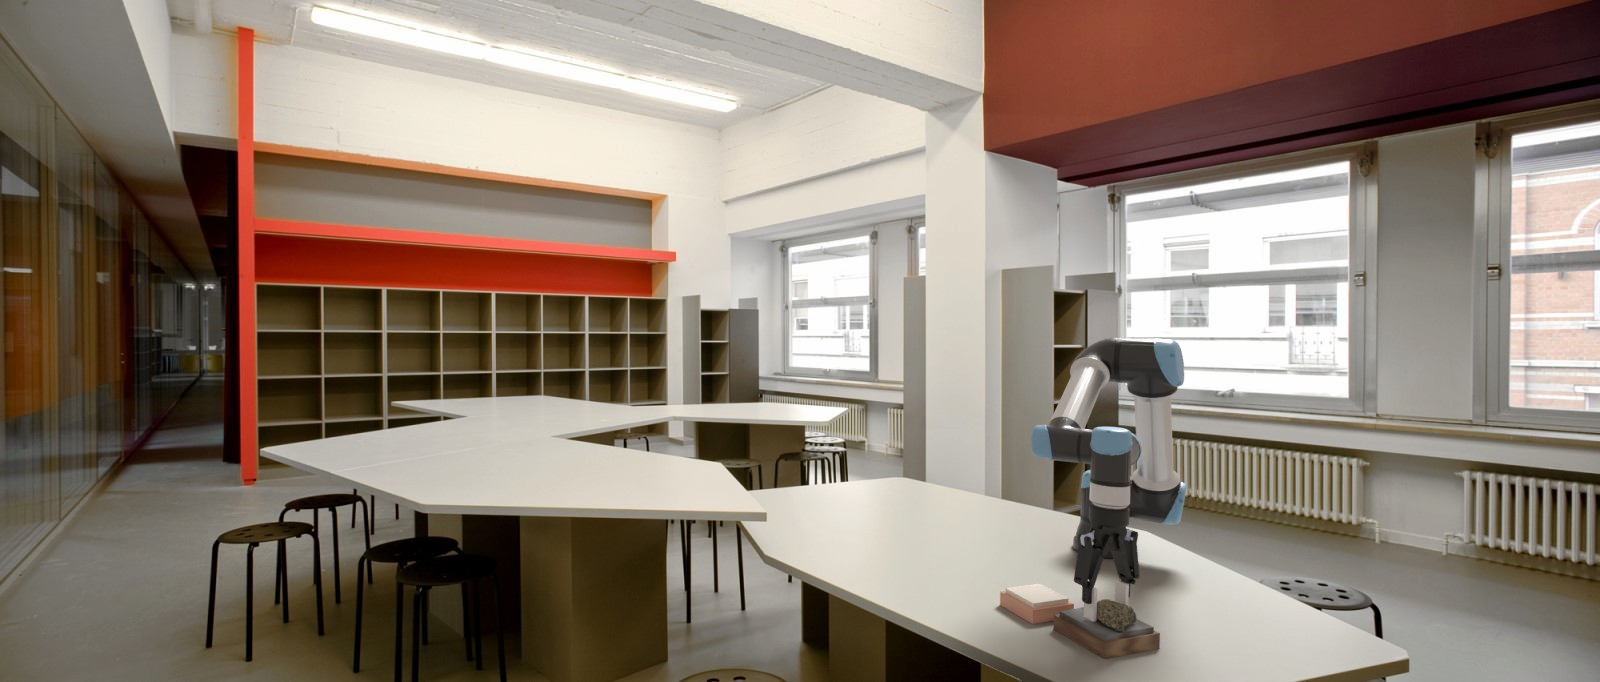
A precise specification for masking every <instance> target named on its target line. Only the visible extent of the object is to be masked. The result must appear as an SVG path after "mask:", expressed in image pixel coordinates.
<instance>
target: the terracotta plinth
mask: <svg viewBox="0 0 1600 682" xmlns="http://www.w3.org/2000/svg"><path fill="white" fill-rule="evenodd" d="M999 597H1000V598H999V605H1000V606H1002V607H1003V608H1004V609H1006V610H1008V611H1009V612H1011V613H1013V614H1015V615H1016V616H1019V618H1022V619H1023V620H1025V621H1027V622H1028V623H1030V624H1031V625H1035V624H1041V623H1042V624H1043V623H1046V622H1048V623H1049V622H1054V615H1056V614H1060V611H1064V610H1070V609H1075V603H1073V602H1072V601H1070V599H1069V597H1066V596H1065V595H1063V594H1060V593H1059V592H1057V591H1055V590H1053V589H1051V588H1049V587H1047V586H1045V585H1043V584H1041V583H1033V584H1027V585H1026V584H1025V585H1019V586H1012V587H1005V590H1002V591H1000V594H999Z"/></svg>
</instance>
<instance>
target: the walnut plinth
mask: <svg viewBox="0 0 1600 682" xmlns="http://www.w3.org/2000/svg"><path fill="white" fill-rule="evenodd" d="M1083 615H1084V606H1083V607H1079V608H1078V607H1077V608H1074V609H1070V610H1064V611H1060V614H1056V615H1054V621H1053V630H1054V631H1056V632H1058V633H1059V634H1061V635H1063V636H1065V637H1066V638H1068V639H1070V640H1071V641H1073V642H1075V643H1077V644H1078V645H1080V646H1082V647H1083V648H1085V649H1087V650H1088V651H1091V652H1092V653H1094V654H1096V656H1097V655H1098V656H1099V657H1101V659H1102V658H1103V659H1104V660H1106V659H1109V658H1110V659H1111V658H1116V657H1121V656H1127V655H1132V654H1136V653H1142V652H1147V651H1153V650H1157V649H1160V646H1161V645H1160V643H1161V632H1157V631H1156V630H1155V629H1154V626H1152V625H1150V624H1149V623H1146V622H1144V621H1142V620H1140V619H1138V618H1136V622H1134V623H1133V624H1131V625H1129V626H1126V627H1124V632H1120V631H1115V629H1113V628H1110V627H1109V626H1107V625H1105V624H1103V623H1102V622H1101V621H1100V620H1097V619H1096V621H1094V622H1093V621H1091V620H1089V619H1087V618H1086V617H1084V616H1083Z"/></svg>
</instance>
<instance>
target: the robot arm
mask: <svg viewBox="0 0 1600 682" xmlns="http://www.w3.org/2000/svg"><path fill="white" fill-rule="evenodd" d="M1069 374H1070V378H1069V380H1068V381H1067V382H1068V383H1067V384H1066V386H1065V389H1064V391H1063V393H1062V396H1061V397H1060V399H1059V401H1058V403H1057V406H1056V408H1055V410H1054V413H1052V417H1051V419H1050V420H1049V423H1048V424H1038V425H1035V426H1034V427H1033V429H1032V431H1031V435H1030V449H1031V453H1032V454H1033V456H1034V457H1037V458H1039V459H1040V458H1041V459H1048V460H1049V461H1059V462H1069V463H1078V464H1079V463H1080V464H1084V465H1085V464H1086V465H1090V469H1088V470H1086V471H1084V472H1083V474H1082V477H1081V485H1080V489H1081V490H1080V520H1079V524H1078V526H1077V528H1076V533H1075V535H1074V537H1073V540H1072V547H1073V549H1074V550H1076V551H1077V554H1076V562H1075V569H1074V575H1073V582H1074V583H1075V584H1078V585H1079V586H1082V587H1081V600H1082V601H1081V602H1083V607H1084V615H1083V616H1084V617H1086V618H1087V619H1089V620H1091V621H1093V622H1094V621H1096V617H1097V602H1098V588H1097V587H1095V585H1096V581H1097V579H1098V576H1099V572H1100V570H1101V566H1102V564H1103V561H1104V559H1113V562H1114V565H1115V568H1116V569H1115V570H1116V572H1117V575H1118V578H1119V579H1115V595H1114V599H1115V600H1114V602H1118V603H1122V604H1126V605H1128V606H1129V598H1130V597H1131V585H1135V584H1136V583H1137V582H1136V580H1139V579H1140V566H1139V555H1138V553H1139V552H1138V538H1139V532H1138V531H1135V530H1133V529H1130V528H1127V527H1128V526H1129V524H1130V519H1131V520H1132V519H1133V520H1136V521H1137V520H1138V521H1146V522H1151V523H1157V524H1161V525H1164V524H1165V525H1172V526H1173V525H1175V526H1176V525H1178V524H1179V523H1180V522H1181V521H1182V516H1183V511H1184V505H1185V499H1186V495H1187V494H1186V493H1187V483H1185V482H1183V481H1181V479H1180V475H1179V474H1178V472H1176V471H1175V470H1174V459H1173V458H1174V455H1173V454H1174V453H1173V451H1174V450H1173V419H1172V417H1173V416H1172V414H1173V413H1172V396H1173V395H1175V394H1176V393H1177V392H1178V387H1181V386H1183V384H1184V382H1185V363H1184V356H1183V352H1182V348H1181V346H1180V344H1179V343H1178V342H1177V341H1176V340H1174V339H1169V338H1168V339H1165V338H1160V337H1155V338H1140V337H1139V338H1138V337H1137V338H1134V337H1132V338H1131V337H1110V338H1109V337H1108V338H1104V339H1102V340H1101V339H1100V340H1098V341H1096V342H1094V343H1092V344H1090V345H1089V346H1088V347H1086V348H1085V349H1084V350H1082V351H1081V352H1080V353H1079V354H1078V355H1077V356H1076V357H1075V359H1074V360H1073V362H1072V364H1071V366H1070V370H1069ZM1108 383H1119V384H1120V383H1123V384H1127V385H1126V387H1127V392H1128V393H1129V394H1130V395H1132V396H1134V397H1133V399H1134V419H1135V434H1134V433H1133V432H1132V431H1131V430H1129V429H1128V428H1124V427H1118V426H1097V427H1094V428H1093V429H1087V428H1086V426H1087V424H1088V422H1089V418H1090V416H1091V414H1092V411H1093V409H1094V407H1095V404H1096V401H1097V399H1098V397H1099V394H1100V392H1101V391H1102V390H1101V389H1103V388H1105V387H1106V386H1107V385H1108ZM1135 464H1137V468H1136V469H1135V470H1134V471H1133V473H1132V475H1131V471H1132V466H1133V465H1135Z"/></svg>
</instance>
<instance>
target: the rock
mask: <svg viewBox="0 0 1600 682" xmlns="http://www.w3.org/2000/svg"><path fill="white" fill-rule="evenodd" d="M1096 619H1097V620H1100V621H1101V622H1102V623H1103V624H1105V625H1107V626H1109V627H1110V628H1113V629H1115V631H1120V632H1124V627H1126V626H1129V625H1131V624H1133V623H1134V622H1136V619H1137V615H1136V612H1135V611H1134V609H1133V607H1132V606H1129V604H1128V605H1126V604H1122V603H1118V602H1115V600H1111V599H1110V598H1109V599H1106V598H1105V599H1101V600H1097V617H1096Z"/></svg>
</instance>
